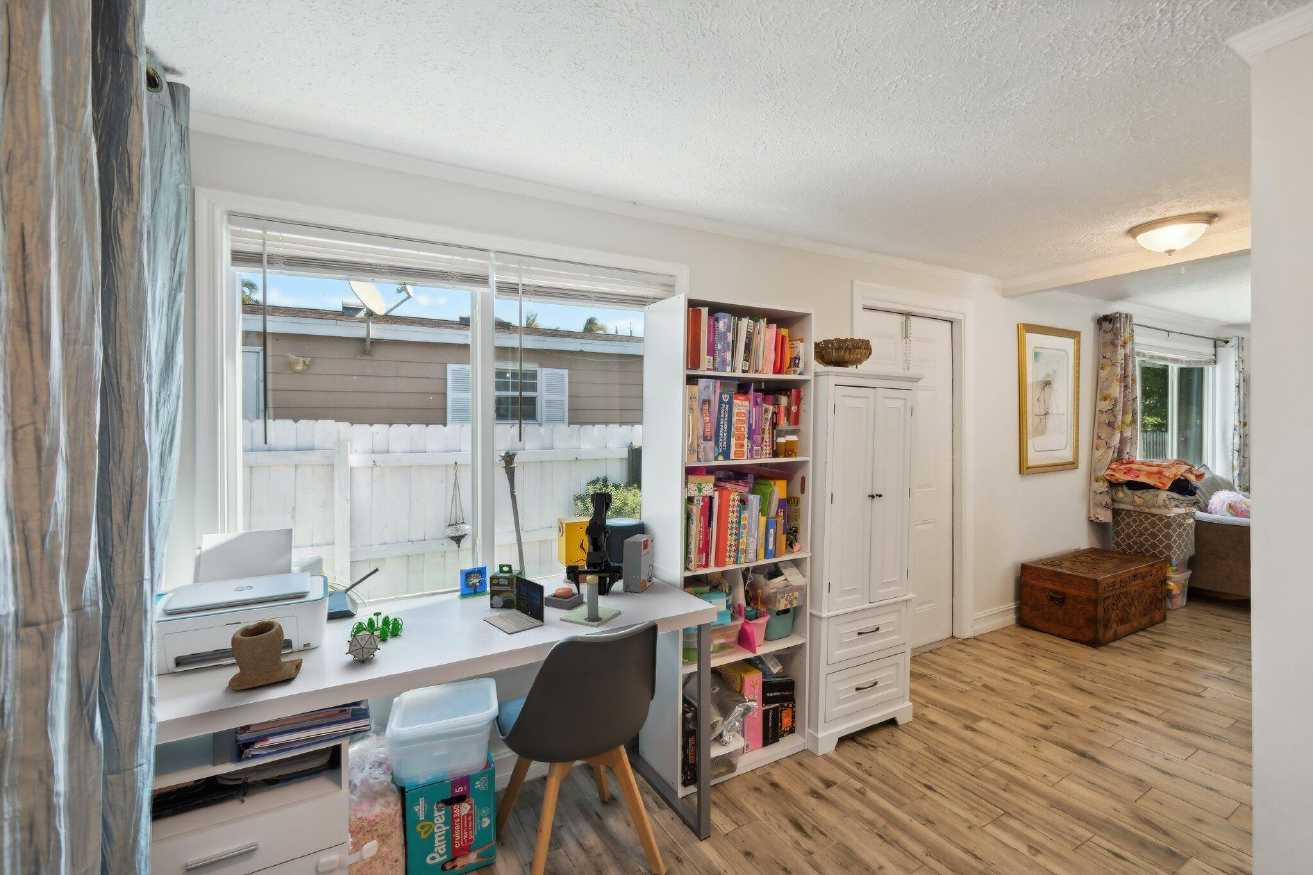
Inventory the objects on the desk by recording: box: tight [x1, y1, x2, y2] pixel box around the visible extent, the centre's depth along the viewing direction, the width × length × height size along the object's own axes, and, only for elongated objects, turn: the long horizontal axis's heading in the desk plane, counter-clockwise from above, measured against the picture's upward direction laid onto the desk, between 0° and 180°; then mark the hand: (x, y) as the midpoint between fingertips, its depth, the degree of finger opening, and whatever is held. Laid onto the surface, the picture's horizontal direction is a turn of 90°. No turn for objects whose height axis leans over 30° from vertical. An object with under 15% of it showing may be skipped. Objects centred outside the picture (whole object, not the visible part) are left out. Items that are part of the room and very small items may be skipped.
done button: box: [555, 587, 574, 599], centre depth 203 cm, size 6×6×2 cm
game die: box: [345, 626, 381, 664], centre depth 154 cm, size 9×8×10 cm
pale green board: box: [559, 604, 622, 628], centre depth 190 cm, size 16×14×1 cm
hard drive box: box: [622, 533, 655, 593], centre depth 225 cm, size 16×8×20 cm, turn 161°
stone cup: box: [228, 620, 303, 691], centre depth 140 cm, size 15×12×15 cm
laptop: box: [482, 575, 545, 634], centre depth 184 cm, size 18×12×13 cm
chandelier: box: [350, 611, 404, 641], centre depth 172 cm, size 15×15×7 cm
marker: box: [586, 575, 599, 621], centre depth 185 cm, size 4×4×14 cm
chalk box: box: [489, 563, 523, 610], centre depth 202 cm, size 9×9×15 cm
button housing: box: [544, 591, 584, 611], centre depth 203 cm, size 10×10×3 cm
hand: (593, 595), depth 184 cm, fingers open, 9 cm apart
